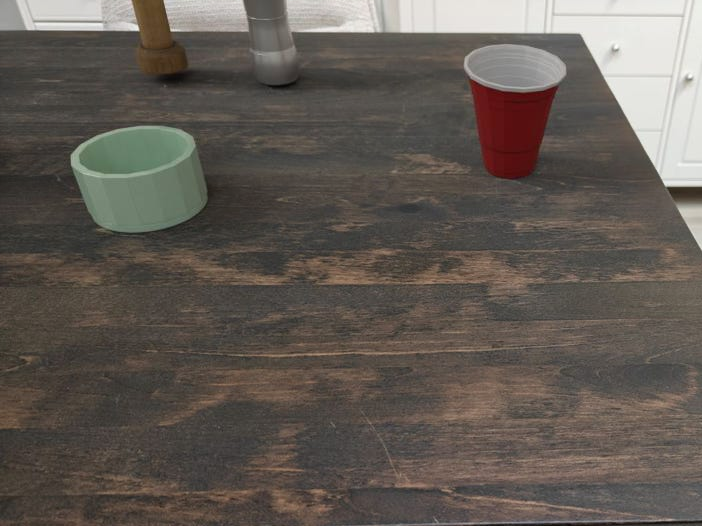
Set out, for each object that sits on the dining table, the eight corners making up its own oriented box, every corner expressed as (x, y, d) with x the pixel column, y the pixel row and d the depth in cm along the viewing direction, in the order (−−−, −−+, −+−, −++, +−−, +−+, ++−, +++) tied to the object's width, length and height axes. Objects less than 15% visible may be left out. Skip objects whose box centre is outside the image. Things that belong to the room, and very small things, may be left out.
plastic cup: (494, 199, 79) (498, 88, 72) (446, 159, 86) (444, 53, 79) (576, 176, 84) (588, 68, 76) (524, 139, 91) (530, 37, 83)
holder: (124, 246, 72) (104, 190, 68) (71, 203, 78) (50, 149, 74) (229, 204, 78) (217, 150, 74) (173, 167, 84) (159, 116, 80)
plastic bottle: (280, 94, 100) (252, -74, 87) (243, 84, 103) (211, -82, 90) (312, 79, 104) (290, -84, 91) (276, 70, 107) (250, -90, 94)
